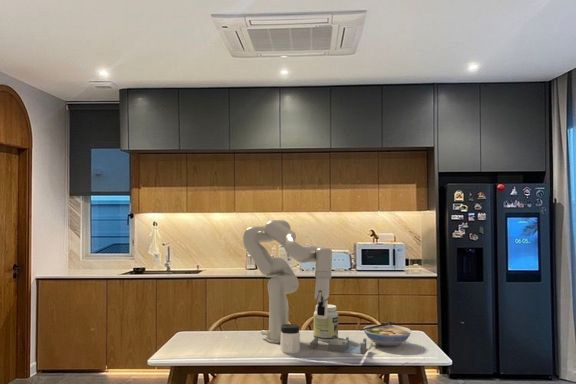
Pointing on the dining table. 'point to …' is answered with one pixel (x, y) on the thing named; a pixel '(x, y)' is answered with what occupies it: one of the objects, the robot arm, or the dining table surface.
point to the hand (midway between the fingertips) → (322, 313)
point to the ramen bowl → (387, 334)
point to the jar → (290, 338)
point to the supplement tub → (326, 325)
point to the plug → (325, 310)
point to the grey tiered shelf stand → (338, 346)
